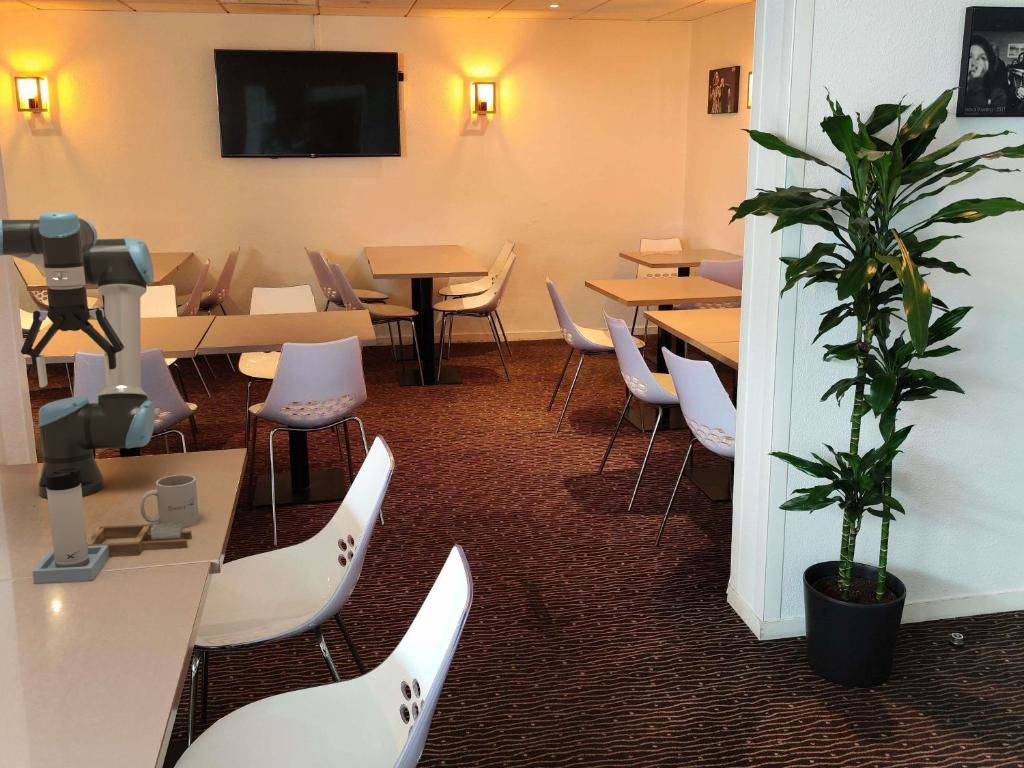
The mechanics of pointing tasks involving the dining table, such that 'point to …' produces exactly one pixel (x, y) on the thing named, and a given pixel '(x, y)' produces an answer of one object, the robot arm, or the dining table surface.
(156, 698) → the dining table surface
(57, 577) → the tray
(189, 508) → the mug
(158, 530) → the light gray block
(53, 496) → the travel mug
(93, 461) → the robot arm
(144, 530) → the brown flat open frame
